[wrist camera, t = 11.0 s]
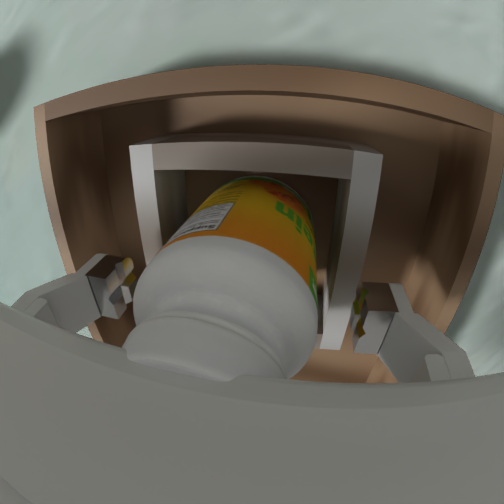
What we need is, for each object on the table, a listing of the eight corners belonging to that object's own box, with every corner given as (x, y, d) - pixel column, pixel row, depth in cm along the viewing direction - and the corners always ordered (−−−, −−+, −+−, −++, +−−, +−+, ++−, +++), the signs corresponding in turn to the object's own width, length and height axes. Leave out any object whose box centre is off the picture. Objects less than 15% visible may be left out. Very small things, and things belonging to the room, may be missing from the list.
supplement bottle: (332, 253, 14) (346, 451, 5) (238, 288, 16) (179, 457, 7) (282, 152, 12) (222, 290, 3) (183, 204, 14) (48, 349, 5)
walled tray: (360, 397, 21) (363, 448, 16) (156, 370, 23) (135, 414, 19) (448, 108, 10) (509, 118, 6) (100, 97, 12) (33, 107, 8)
